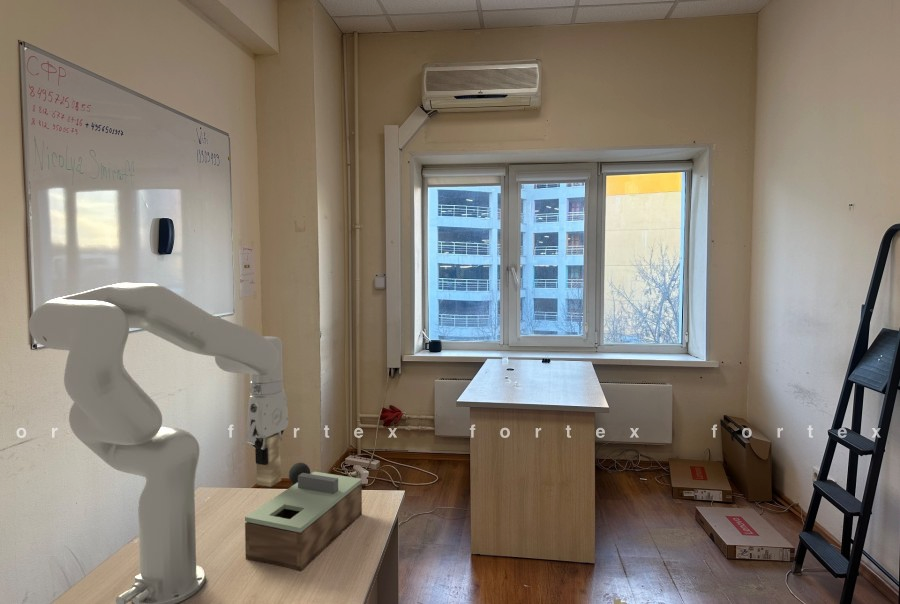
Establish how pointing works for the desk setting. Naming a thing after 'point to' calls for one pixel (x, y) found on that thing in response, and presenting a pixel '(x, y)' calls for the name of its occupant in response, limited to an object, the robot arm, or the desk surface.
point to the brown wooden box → (301, 535)
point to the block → (270, 463)
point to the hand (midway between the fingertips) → (268, 459)
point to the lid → (304, 501)
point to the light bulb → (297, 472)
